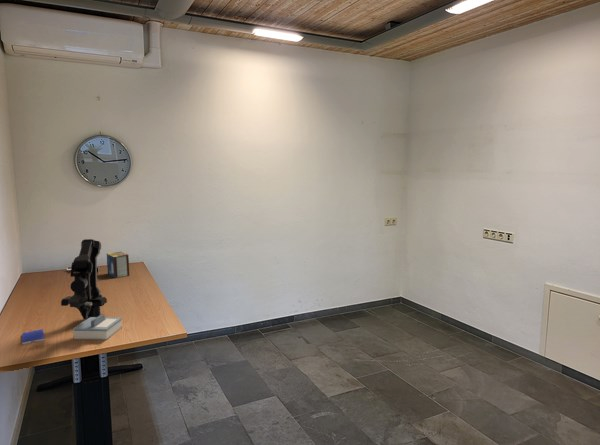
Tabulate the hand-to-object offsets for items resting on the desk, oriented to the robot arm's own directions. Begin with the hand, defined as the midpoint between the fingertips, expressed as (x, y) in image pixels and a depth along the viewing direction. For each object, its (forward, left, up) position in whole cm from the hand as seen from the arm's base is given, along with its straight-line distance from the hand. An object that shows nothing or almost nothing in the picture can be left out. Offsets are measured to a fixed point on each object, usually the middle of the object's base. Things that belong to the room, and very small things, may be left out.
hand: (85, 319), depth 188 cm
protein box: (-105, -36, -7) cm, 111 cm away
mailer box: (0, +6, -7) cm, 9 cm away
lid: (0, +6, -2) cm, 6 cm away
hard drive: (+6, -21, -8) cm, 23 cm away
